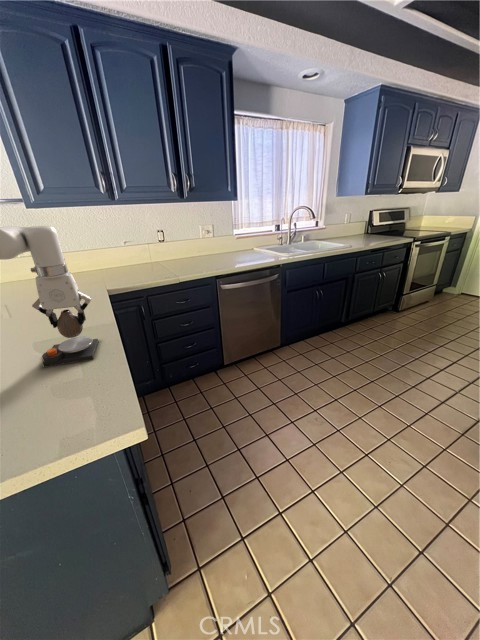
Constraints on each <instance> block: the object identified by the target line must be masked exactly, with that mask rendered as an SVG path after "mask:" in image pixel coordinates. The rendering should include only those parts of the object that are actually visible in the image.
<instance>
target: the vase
mask: <svg viewBox="0 0 480 640" xmlns="http://www.w3.org/2000/svg"><path fill="white" fill-rule="evenodd" d="M57 320H58V321H57V327H56V328H57V331H58V333H59V334H60V335H61V336H63V337H64V338H67V339H72V338H75V337H79V336H80V335H81V334H82V332H83V330H84V329H83V327H84V326H83V325H84V324H80V321H79V318H78V315H77V314H76V313H74V312H73V311H71V310H70V309H63V310H61V311H60V315H59V317H57Z"/></svg>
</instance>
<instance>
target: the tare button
mask: <svg viewBox="0 0 480 640" xmlns="http://www.w3.org/2000/svg"><path fill="white" fill-rule="evenodd" d="M46 352H47V354H48V356H54V355H56V354H58V353H57V350H56V349H55V348H52V347H51V348H49V349H47V350H46Z"/></svg>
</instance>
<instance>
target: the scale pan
mask: <svg viewBox="0 0 480 640" xmlns="http://www.w3.org/2000/svg"><path fill="white" fill-rule="evenodd" d="M92 339H93V338H91V337H90V336H77V337H73V338H68V339H67V340H64V341H62V342H61V343H59V344H60V345H59V347H58V349H59V351H60V352H63V353H73V352H77V351H81V350H83V349H86V348H87V347H89V346H90V345H91V344H92V342H93V341H92Z"/></svg>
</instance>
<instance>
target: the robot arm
mask: <svg viewBox="0 0 480 640" xmlns="http://www.w3.org/2000/svg"><path fill="white" fill-rule="evenodd" d="M29 252H30V255H31V258H32V261H33V264H34V267H31V268H30V272H31V273H34V274H36V276H35V285H36V291H37V295H38V298H37V299H36V300H35V301H34V302H33V303H32V305H31V307H32V308H33V309H35V310H36V311H39V313H41V314H43V315H45V316H46V317H48V320H49V324H50V325H51V326H52V327H53V329H56V328H57V321H58V317H57V314H56V312H54V310H59V309H69V308H74V309H75V310H76V311H77V314H76V315H77V316H78V318H79V321H80V324H82V325H84V323H85V321H86V320H87V317H86V315H85V310H86V308H87V307H88V306H89V304H90V303H91V301H92V297H90V296H89V295H87V294H84V293H83V292H81V291H80V289H79V286H78V284H77V282H76V279H75V278H74V275H73V274H72V272H69V269H68V266H67V263H66V258H65V256H64V252H63V248H62V245H61V242H60V238H59V235H58V231H57V229H56V228H55V227H53V226H51V225H34V226H16V225H5V226H1V227H0V260H12V259H15V258H16V257H18V256H20V255H23V254H25V253H29ZM82 300H83V301H84V302H83V303H81V301H82Z"/></svg>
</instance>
